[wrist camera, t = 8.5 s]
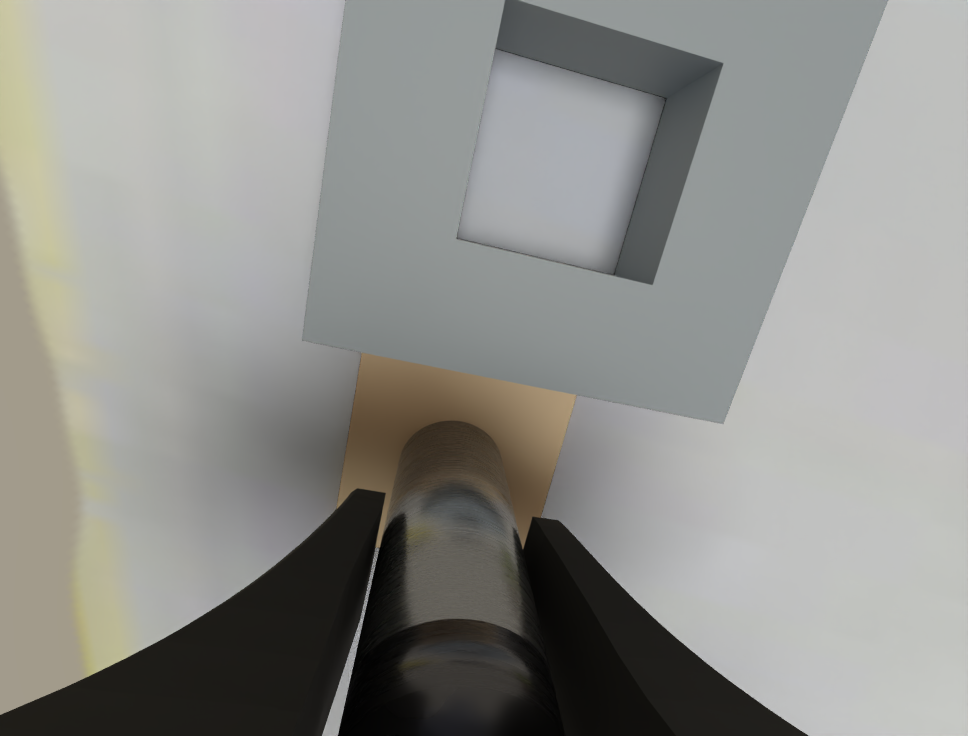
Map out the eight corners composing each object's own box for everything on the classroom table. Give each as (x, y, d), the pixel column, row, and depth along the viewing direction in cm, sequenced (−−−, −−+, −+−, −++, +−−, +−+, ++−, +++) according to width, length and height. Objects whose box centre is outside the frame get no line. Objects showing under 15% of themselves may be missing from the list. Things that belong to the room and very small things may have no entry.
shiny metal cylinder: (499, 514, 14) (559, 852, 6) (398, 514, 14) (334, 866, 6) (505, 421, 13) (582, 682, 6) (397, 419, 13) (323, 691, 5)
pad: (523, 560, 15) (525, 569, 15) (334, 532, 14) (331, 540, 14) (574, 386, 14) (577, 391, 13) (365, 345, 13) (362, 349, 12)
